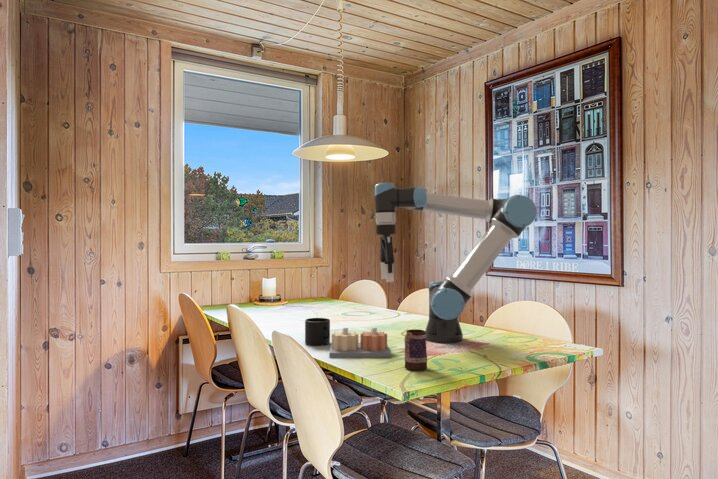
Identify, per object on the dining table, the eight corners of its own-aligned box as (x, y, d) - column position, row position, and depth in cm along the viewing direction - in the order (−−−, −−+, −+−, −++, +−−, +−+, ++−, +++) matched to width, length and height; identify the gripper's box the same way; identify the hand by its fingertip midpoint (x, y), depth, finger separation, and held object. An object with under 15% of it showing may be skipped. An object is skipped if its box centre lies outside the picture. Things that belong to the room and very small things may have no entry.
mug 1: (319, 348, 183) (319, 323, 183) (300, 343, 192) (300, 319, 192) (339, 344, 189) (339, 320, 189) (319, 339, 198) (319, 317, 198)
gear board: (386, 347, 186) (387, 324, 185) (390, 357, 170) (390, 332, 169) (331, 347, 185) (331, 324, 185) (329, 357, 169) (329, 332, 169)
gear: (386, 344, 182) (386, 331, 182) (387, 350, 173) (388, 336, 173) (360, 344, 182) (360, 331, 182) (360, 350, 173) (360, 336, 173)
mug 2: (411, 364, 161) (411, 327, 160) (431, 367, 157) (431, 329, 156) (395, 371, 152) (395, 331, 152) (416, 375, 148) (416, 334, 148)
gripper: (371, 225, 201) (373, 278, 201) (380, 223, 176) (382, 283, 176) (390, 224, 202) (392, 277, 202) (401, 222, 177) (403, 282, 177)
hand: (387, 280), depth 189 cm, fingers open, 13 cm apart
